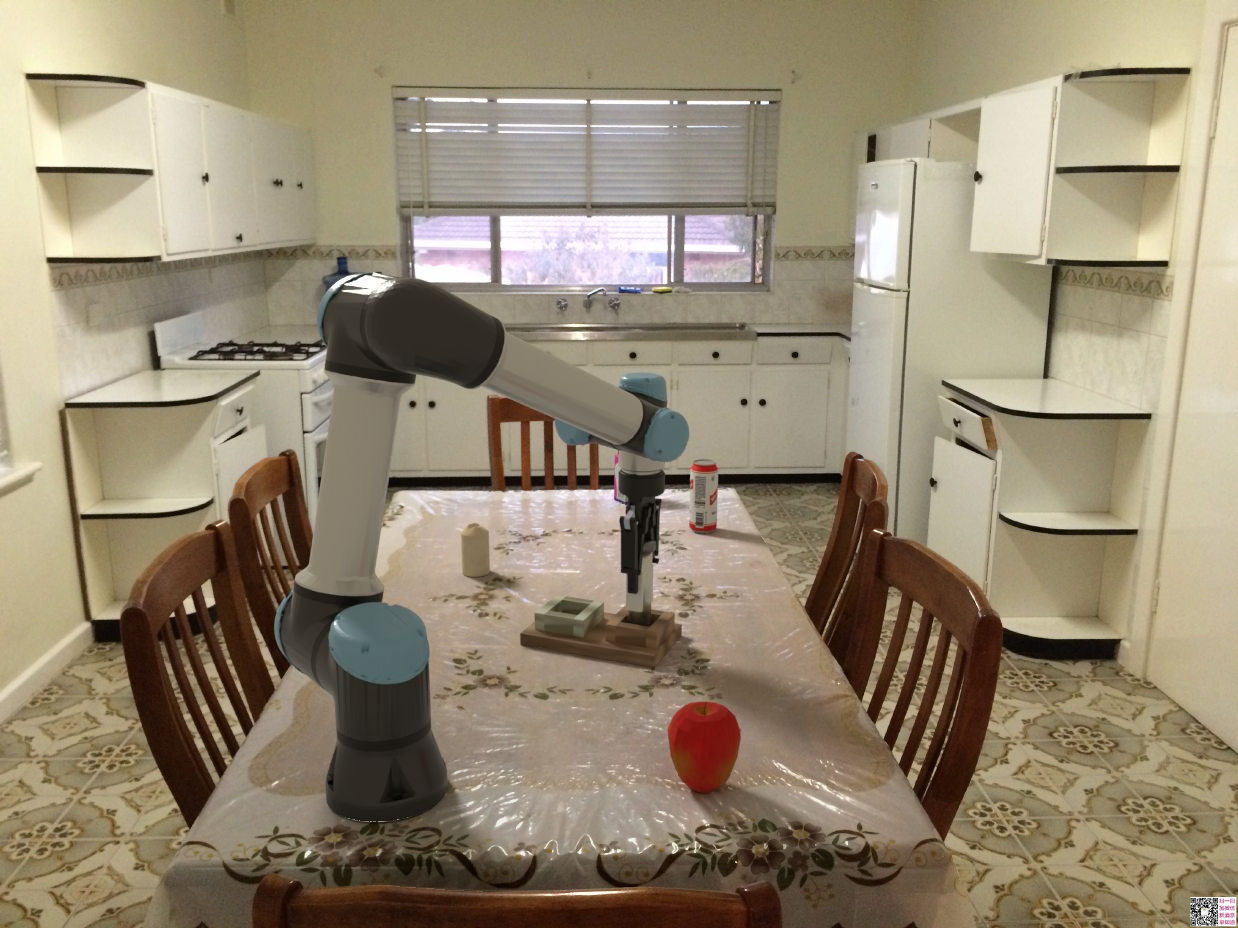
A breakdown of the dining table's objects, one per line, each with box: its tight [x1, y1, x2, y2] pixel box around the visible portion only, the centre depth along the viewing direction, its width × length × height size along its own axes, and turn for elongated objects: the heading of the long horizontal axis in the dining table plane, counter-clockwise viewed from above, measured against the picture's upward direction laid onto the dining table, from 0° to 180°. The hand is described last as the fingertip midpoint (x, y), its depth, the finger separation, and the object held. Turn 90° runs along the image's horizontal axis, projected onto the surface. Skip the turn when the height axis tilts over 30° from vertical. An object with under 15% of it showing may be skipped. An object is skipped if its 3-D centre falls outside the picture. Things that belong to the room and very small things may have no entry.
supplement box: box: [613, 454, 628, 505], centre depth 263 cm, size 6×6×12 cm
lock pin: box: [627, 539, 656, 627], centre depth 176 cm, size 5×5×15 cm
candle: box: [460, 522, 491, 578], centre depth 212 cm, size 6×6×10 cm
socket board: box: [519, 594, 683, 668], centre depth 181 cm, size 14×24×5 cm, turn 68°
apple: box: [666, 700, 742, 794], centre depth 135 cm, size 9×9×12 cm
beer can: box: [688, 458, 719, 534], centre depth 239 cm, size 6×6×16 cm
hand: (639, 605), depth 177 cm, fingers closed on lock pin, 4 cm apart
